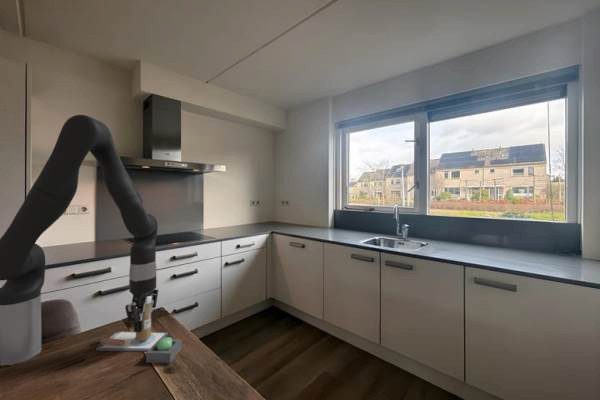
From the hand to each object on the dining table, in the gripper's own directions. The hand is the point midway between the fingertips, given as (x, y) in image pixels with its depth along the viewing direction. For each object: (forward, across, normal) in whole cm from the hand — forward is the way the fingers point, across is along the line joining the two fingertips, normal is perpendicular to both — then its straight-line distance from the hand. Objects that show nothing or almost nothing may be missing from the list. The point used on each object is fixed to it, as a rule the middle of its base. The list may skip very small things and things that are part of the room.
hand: (143, 327), depth 84 cm
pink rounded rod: (+5, +3, -8) cm, 10 cm away
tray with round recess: (+5, 0, -3) cm, 6 cm away
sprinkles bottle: (+4, 0, 0) cm, 4 cm away
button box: (+5, +6, +11) cm, 13 cm away
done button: (+3, +7, +11) cm, 13 cm away
